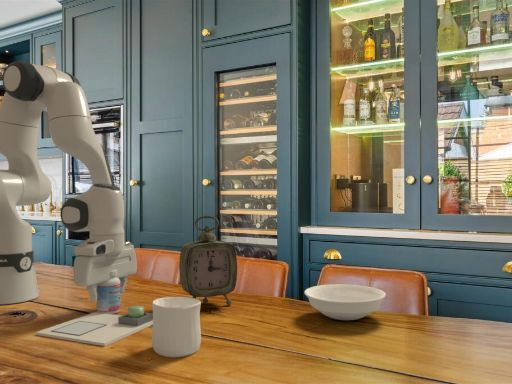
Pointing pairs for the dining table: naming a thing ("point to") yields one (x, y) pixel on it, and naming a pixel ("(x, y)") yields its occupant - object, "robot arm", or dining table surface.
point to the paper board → (93, 329)
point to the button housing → (135, 319)
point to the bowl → (345, 300)
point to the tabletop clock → (208, 266)
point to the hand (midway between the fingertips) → (108, 296)
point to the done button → (135, 311)
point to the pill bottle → (109, 295)
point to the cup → (176, 326)
